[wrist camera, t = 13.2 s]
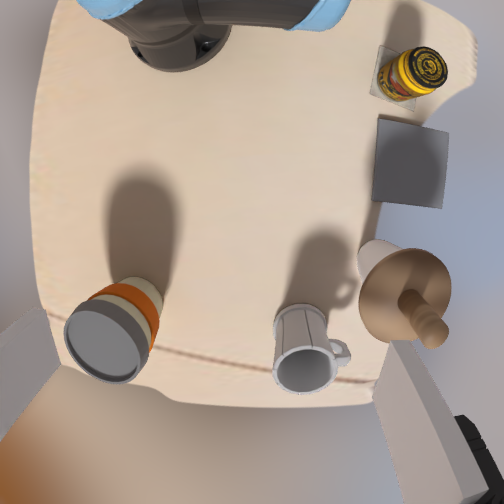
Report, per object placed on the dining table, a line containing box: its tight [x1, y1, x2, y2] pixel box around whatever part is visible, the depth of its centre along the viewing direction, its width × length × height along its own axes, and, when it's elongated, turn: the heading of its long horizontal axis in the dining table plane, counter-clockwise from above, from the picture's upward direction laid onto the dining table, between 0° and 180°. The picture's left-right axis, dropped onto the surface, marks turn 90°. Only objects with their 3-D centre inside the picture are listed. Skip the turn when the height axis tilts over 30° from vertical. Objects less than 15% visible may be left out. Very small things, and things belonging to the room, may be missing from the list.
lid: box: [359, 248, 451, 349], centre depth 31 cm, size 12×12×9 cm
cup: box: [273, 304, 351, 395], centre depth 46 cm, size 10×9×12 cm
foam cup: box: [357, 239, 402, 284], centre depth 41 cm, size 10×9×13 cm
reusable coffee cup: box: [64, 277, 163, 384], centre depth 45 cm, size 13×13×15 cm
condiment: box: [370, 46, 448, 112], centre depth 33 cm, size 7×8×12 cm
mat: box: [372, 119, 449, 209], centre depth 42 cm, size 12×12×1 cm
